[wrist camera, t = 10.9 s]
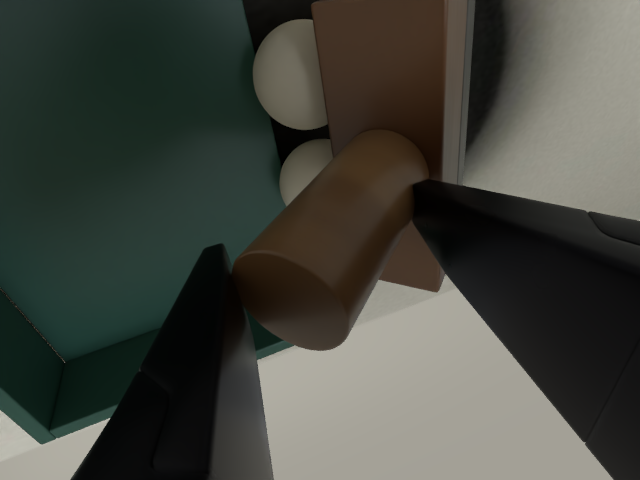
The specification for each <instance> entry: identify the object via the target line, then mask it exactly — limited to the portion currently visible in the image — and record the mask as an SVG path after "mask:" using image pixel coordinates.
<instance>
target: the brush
mask: <svg viewBox="0 0 640 480" xmlns="http://www.w3.org/2000/svg"><path fill="white" fill-rule="evenodd" d="M474 12H475V0H319V1H316V2H314V3H313V4H311V13H312V19H313V26H314V33H315V40H316V47H317V53H318V60H319V67H320V74H321V81H322V87H323V94H324V101H325V108H326V115H327V121H328V128H329V135H330V142H331V149H332V155H333V159H332V160H331V161H330V162H329V163H328V164H327V166H326V167H325V168H324V169H323V170H322V171H321V172H320V173H319V174H318V175H317V176H316V177H315V178H314V179H313V180H312V181H311V182H310V183H309V184H308V185H307V186H306V187H305V188H304V189H303V190H302V191H301V192H300V193H299V194H298V195H297V196H296V197H295V198H294V199H293V200H292V201H291V203H290V204H289V205H288V206H287V207H286V208H285V209H284V210H283V211H282V212H281V213H280V214H279V215H278V216H277V217H276V218H275V219H274V220H273V221H272V222H271V223H270V224H269V225H268V226H267V227H266V228H265V229H264V230H263V231H262V232H261V233H260V234H259V235H258V236H257V237H256V239H255V240H254V241H253V242H252V243H251V244H250V245H249V246H248V247H247V248H246V249H245V250H244V251H243V252H242V253H241V254H240V255H239V256H238V257H237V258H236V260H235V261H234V264H233V267H232V273H231V274H232V278H233V281H234V284H235V286H236V289H237V292H238V294H239V297H240V300H241V302H242V304H243V306H244V307H245V308H246V310H247V311H248V312H249V313H250V314H251V315H252V316H253V318H254V319H255V320H257V321H258V322H259V323H260V324H261V325H262V326H263V327H265V328H266V329H267V330H268V331H270V332H271V333H273V334H274V335H276V336H277V337H279V338H281V339H283V340H284V341H286V342H288V343H291V344H293V345H296V346H298V347H301V348H305V349H309V350H317V351H324V350H330V349H333V348H335V347H337V346H339V345H340V344H342V343H343V342H344V341H345V340H346V338H347V336H348V335H349V333H350V331H351V329H352V327H353V325H354V324H355V322H356V320H357V318H358V316H359V314H360V313H361V311H362V309H363V307H364V305H365V303H366V302H367V300H368V298H369V296H370V294H371V292H372V291H373V289H374V287H375V285H376V283H377V281H378V280H382V281H387V282H391V283H396V284H400V285H405V286H409V287H414V288H418V289H423V290H427V291H432V292H438V291H439V290H440V287H441V284H442V282H443V279H444V276H445V274H446V273H445V272H444V271H443V269H442V268H441V266H440V265H439V263H438V262H437V260H436V259H435V257H434V255H433V254H432V252H431V251H430V249H429V248H428V246H427V244H426V243H425V241H424V240H423V238H422V237H421V235H420V233H419V232H418V230H417V229H416V227H415V226H414V224H413V222H412V217H413V214H414V209H415V198H414V191H413V184H414V183H416V182H420V181H423V180H426V179H432V180H437V181H442V182H447V183H451V184H456V185H461V186H463V175H464V161H465V146H466V131H467V116H468V101H469V86H470V72H471V57H472V42H473V27H474Z"/></svg>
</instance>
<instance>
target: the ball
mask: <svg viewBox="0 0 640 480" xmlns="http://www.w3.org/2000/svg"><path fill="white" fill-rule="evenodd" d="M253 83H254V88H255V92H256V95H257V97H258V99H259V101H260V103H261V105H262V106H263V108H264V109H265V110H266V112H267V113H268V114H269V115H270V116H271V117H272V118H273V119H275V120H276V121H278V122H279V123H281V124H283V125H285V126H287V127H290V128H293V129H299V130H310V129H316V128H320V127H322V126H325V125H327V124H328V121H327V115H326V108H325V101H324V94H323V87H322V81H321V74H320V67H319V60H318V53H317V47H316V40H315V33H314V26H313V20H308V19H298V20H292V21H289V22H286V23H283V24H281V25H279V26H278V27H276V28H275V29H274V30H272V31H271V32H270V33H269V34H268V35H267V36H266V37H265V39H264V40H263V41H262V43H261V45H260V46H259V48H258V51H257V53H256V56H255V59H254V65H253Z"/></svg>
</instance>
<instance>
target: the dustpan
mask: <svg viewBox="0 0 640 480" xmlns="http://www.w3.org/2000/svg"><path fill="white" fill-rule="evenodd" d="M254 59H255V51H254V47H253V43H252V39H251V34H250V30H249V26H248V22H247V17H246V13H245V9H244V5H243V0H0V287H1V289H2V290H3V291H4V292H5V293H6V294H7V295H8V297H9V298H10V299H11V300H12V301H13V302H14V303H15V305H16V306H17V307H18V308H19V309H20V310H21V311H22V313H23V314H24V315H25V316H26V317H27V318H28V319H29V321H30V322H31V323H32V324H33V325H34V326H35V327H36V329H37V330H38V331H39V332H40V333H41V334H42V335H43V337H44V338H45V339H46V340H47V341H48V342H49V343H50V345H51V346H52V347H53V348H54V349H55V350H56V352H57V353H58V354H59V355H60V356H61V357H62V358H63V360H64V361H65V362H66V363H64V362H63V361H62V359H61V358H60V357H59V356H58V355H57V354H56V353H55V351H54V350H53V349H52V348H51V347H50V346H49V345H48V343H47V342H46V341H45V340H44V339H43V338H42V337H41V335H40V334H39V333H38V332H37V331H36V330H35V329H34V328H33V326H32V325H31V324H30V323H29V322H28V321H27V320H26V318H25V317H24V316H23V315H22V314H21V313H20V312H19V310H18V309H17V308H16V307H15V306H14V305H13V304H12V302H11V301H10V300H9V299H8V298H7V297H6V296H5V294H4V293H3V292H2V291H1V290H0V410H1V411H2V412H4V413H5V414H6V415H7V416H8V417H9V418H11V419H12V420H13V421H14V422H15V423H16V424H18V425H19V426H20V427H21V428H22V429H23V430H25V431H26V432H27V433H28V434H29V435H30V436H32V437H33V438H34V439H35V440H36V441H37V442H39V443H40V444H45V443H47V442H50V441H52V440H55V439H56V438H60V437H62V436H65V435H67V434H70V433H73V432H75V431H78V430H80V429H83V428H85V427H88V426H90V425H93V424H96V423H98V422H101V421H103V420H106V419H108V418H111V417H112V415H113V413H114V411H115V410H116V408H117V406H118V404H119V403H120V401H121V399H122V398H123V396H124V394H125V392H126V391H127V389H128V387H129V385H130V383H131V381H132V380H133V378H134V376H135V374H136V372H138V371H139V367H140V365H141V363H142V362H143V360H144V358H145V356H146V354H147V352H148V350H149V349H150V347H151V345H152V343H153V341H154V339H155V338H156V336H157V334H158V332H159V330H160V328H161V326H162V325H163V323H164V321H165V319H166V317H167V315H168V314H169V312H170V310H171V308H172V306H173V304H174V302H175V301H176V299H177V297H178V295H179V293H180V291H181V290H182V288H183V286H184V284H185V282H186V280H187V279H188V277H189V275H190V273H191V271H192V269H193V267H194V266H195V264H196V262H197V260H198V258H199V256H200V255H201V253H202V251H203V249H204V248H206V247H209V246H212V245H216V244H219V243H222V244H224V246H225V248H226V250H227V253H228V256H229V258H230V261H231V264H232V267H233V264H234V261H235V260H236V258H237V257H238V256H239V255H240V254H241V253H242V252H243V251H244V250H245V249H246V248H247V247H248V246H249V245H250V244H251V243H252V242H253V241H254V240H255V239H256V237H257V236H258V235H259V234H260V233H261V232H262V231H263V230H264V229H265V228H266V227H267V226H268V225H269V224H270V223H271V222H272V221H273V220H274V219H275V218H276V217H277V216H278V215H279V214H280V213H281V212H282V211H283V210H284V209H285V208H286V207H287V206H286V205H285V203H284V201H283V199H282V196H281V192H280V184H279V181H280V173H281V169H282V166H281V162H280V158H279V154H278V149H277V145H276V141H275V137H274V132H273V128H272V124H271V120H270V115H269V114H268V113H267V112H266V110H265V109H264V108H263V106H262V105H261V103H260V101H259V99H258V97H257V95H256V92H255V88H254V83H253V65H254ZM245 309H246V308H245ZM246 313H247V316H248V320H249V323H250V327H251V331H252V335H253V339H254V344H255V350H256V357H257V360H259V359H261V358H264V357H266V356H269V355H271V354H274V353H276V352H279V351H282V350H284V349H287V348H289V347H292V346H294V345H293V344H291V343H288V342H286V341H284V340H283V339H281V338H279V337H277V336H276V335H274V334H273V333H271V332H270V331H268V330H267V329H266V328H265V327H263V326H262V325H261V324H260V323H259V322H258V321H257V320H255V319H254V318H253V316H252V315H251V314H250V313H249V312H248V311H247V310H246Z"/></svg>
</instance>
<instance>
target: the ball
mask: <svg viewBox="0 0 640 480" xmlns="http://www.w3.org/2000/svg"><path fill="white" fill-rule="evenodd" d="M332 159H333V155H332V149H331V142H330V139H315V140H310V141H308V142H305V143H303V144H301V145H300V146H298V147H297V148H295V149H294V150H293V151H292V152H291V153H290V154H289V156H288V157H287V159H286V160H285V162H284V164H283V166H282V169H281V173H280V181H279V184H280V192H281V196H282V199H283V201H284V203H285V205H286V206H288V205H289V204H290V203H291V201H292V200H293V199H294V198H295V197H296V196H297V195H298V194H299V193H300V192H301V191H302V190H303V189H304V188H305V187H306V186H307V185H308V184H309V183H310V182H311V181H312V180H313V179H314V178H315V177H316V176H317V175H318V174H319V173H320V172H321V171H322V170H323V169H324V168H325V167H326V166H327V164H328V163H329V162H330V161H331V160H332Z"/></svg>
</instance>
